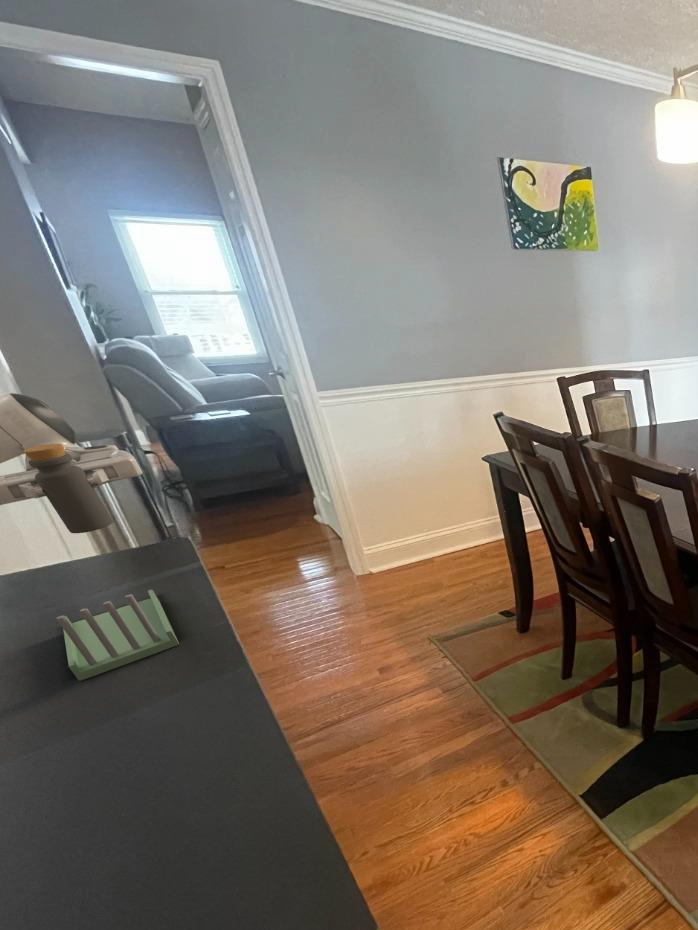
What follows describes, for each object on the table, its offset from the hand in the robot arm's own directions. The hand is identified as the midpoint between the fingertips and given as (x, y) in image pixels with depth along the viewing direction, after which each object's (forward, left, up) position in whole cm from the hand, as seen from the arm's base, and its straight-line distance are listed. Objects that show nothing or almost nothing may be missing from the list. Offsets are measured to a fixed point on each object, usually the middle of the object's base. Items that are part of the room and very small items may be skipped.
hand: (67, 486), depth 104 cm
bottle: (0, +1, -8) cm, 8 cm away
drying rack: (-2, -30, -18) cm, 35 cm away
